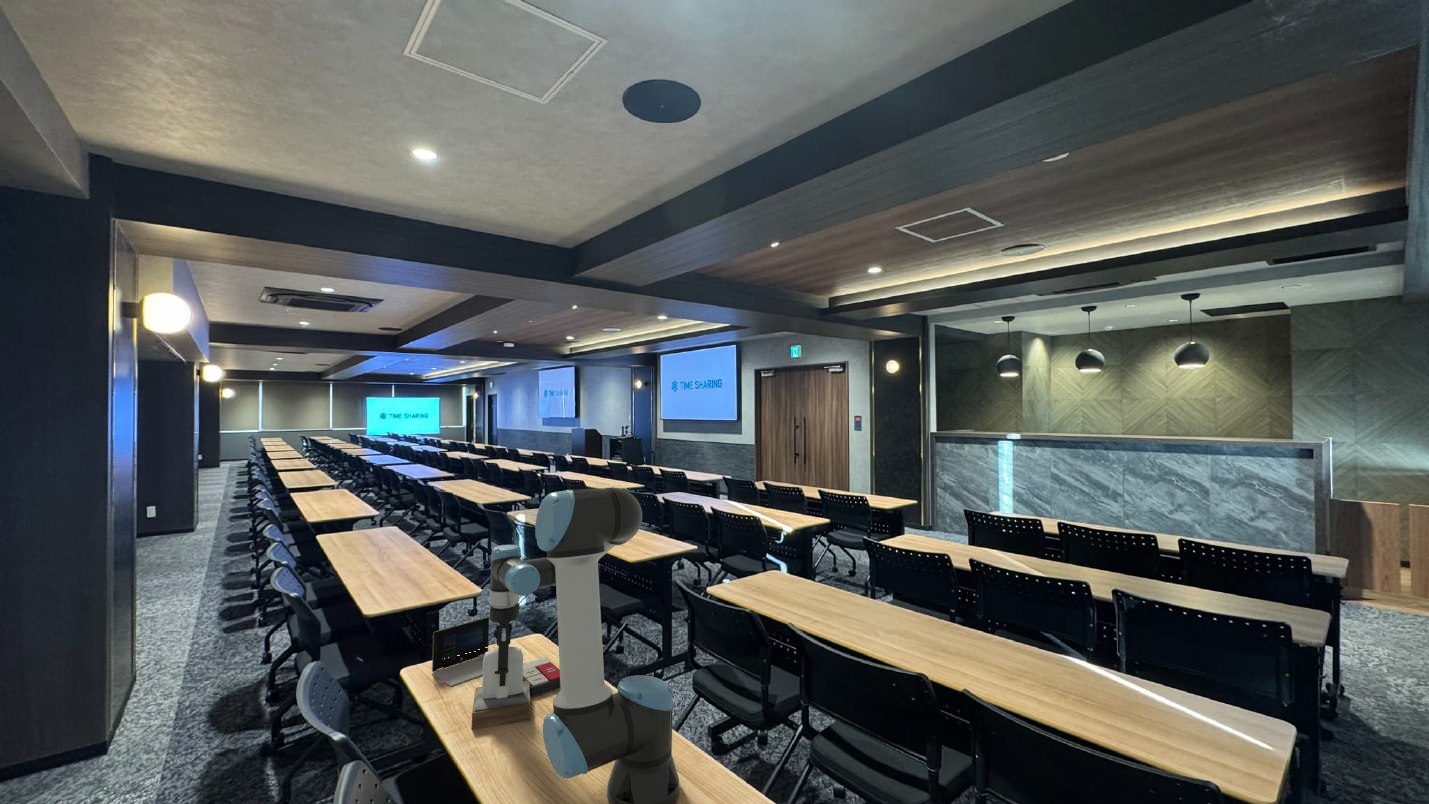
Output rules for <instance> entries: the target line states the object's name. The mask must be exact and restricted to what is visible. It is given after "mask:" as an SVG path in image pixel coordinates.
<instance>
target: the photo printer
mask: <svg viewBox="0 0 1429 804" xmlns="http://www.w3.org/2000/svg"><path fill="white" fill-rule="evenodd" d="M523 653H524V652H522V647H518V646H509V647H508V696H509V695H515V694H519V693H521V692H522V691H523V664H524V654H523ZM497 670H498V647H497V648H493V649H490V650H488V652H486V653H485V656H484V659H483V675H482V681H481V682H482V684H481V685H482V686H481V687H482V697H483V698H484V699H488V698H496V697H497V674H495V671H497Z"/></svg>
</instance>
